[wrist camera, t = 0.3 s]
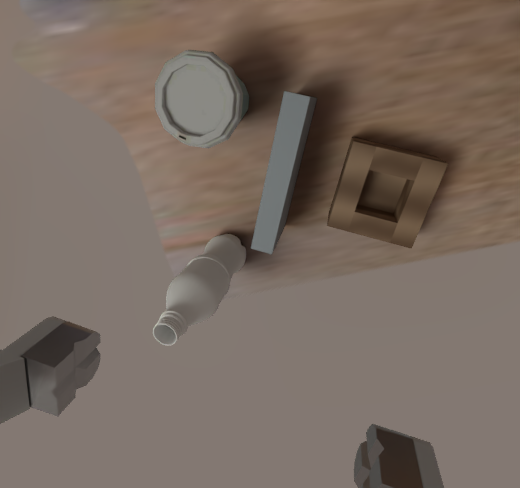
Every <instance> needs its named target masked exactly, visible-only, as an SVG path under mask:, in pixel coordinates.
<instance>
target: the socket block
mask: <svg viewBox="0 0 520 488" xmlns="http://www.w3.org/2000/svg"><path fill="white" fill-rule="evenodd" d="M447 166H448V163H446V162H444V161H443V160H441V159H439V158H437V157H435V156H431V155H426V154H422V153H418V152H414V151H409V150H405V149H401V148H397V147H392V146H388V145H384V144H380V143H376V142H371V141H367V140H363V139H359V138H354V137H352V139H351V142H350V146H349V149H348V152H347V155H346V159H345V162H344V165H343V168H342V172H341V175H340V178H339V182H338V185H337V188H336V191H335V195H334V198H333V201H332V204H331V208H330V211H329V215H328V224H327V226H330V227H333V228H337V229H341V230H345V231H348V232H352V233H356V234H360V235H363V236H367V237H371V238H374V239H378V240H382V241H386V242H389V243H393V244H397V245H400V246H404V247H408V248H412V246H413V244H414V241H415V239H416V237H417V235H418V232H419V230H420V228H421V225H422V223H423V221H424V218H425V216H426V214H427V212H428V209H429V207H430V205H431V202H432V200H433V198H434V195H435V193H436V191H437V189H438V186H439V184H440V182H441V179H442V177H443V175H444V172H445V170H446V168H447Z"/></svg>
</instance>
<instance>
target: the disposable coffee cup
mask: <svg viewBox="0 0 520 488" xmlns="http://www.w3.org/2000/svg"><path fill="white" fill-rule="evenodd" d="M248 106H249V94H248V92H247V89H246V87H245V84H244V83H243V82H242V81H241V80H240V79H239V78H238V77H237V76H236V74H235V73H234V70H233V68H232V67H230V66H229V65H228V64H227V63H225V62H224V61H223V60H222V59H220V58H219V57H218V56H217V55H216V54H214V53H213V52H206V51H196V50H186V51H184V52H182V53H181V54H179V55H177V56H175V57H174V58H172V59H170V60H169V61H167V62H166V63H165V65H164V67H163V69H162V71H161V73H160V75H159V77H158V79H157V81H156V83H155V109H156V112H157V114H158V116H159V118H160V120H161V123H162V125H163V127H164V129H165V130H166V131H167V132H169V133H170V134H171V135H172V136H174V137H175V138H176V139H178V140H179V141H180V142H182V143H184V144H187V145H189V146H196V147H203V148H210V147H212V146H215V145H217V144H219V143H221V142H223V141H225V140H228V139H229V137H230V136H231V134H232V133H233V131H234V130H235V128H236V127H237V125H238V124H239V122H240V121H241V119H242V118H243V116H244V115H245V113H246V112H247V110H248Z"/></svg>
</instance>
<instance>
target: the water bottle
mask: <svg viewBox="0 0 520 488" xmlns="http://www.w3.org/2000/svg"><path fill="white" fill-rule="evenodd" d="M245 260H246V248H245V247H244V246H242V245H241V241H240V239H239V238H238V237H236V236H234V235H232V234H224V235H220V236H215V237H214V238H212V239H211V240H210V241H209V242H208V243H207V245H206V247H205V250H204V253H203V254H202V255H199V256H197V257H195V258H194V259H192V260H191V261H190V262H189V263H188V265H187V266H186V268H185V269H184V270H183V271H182V272H181V273H180V274H179V275H178V276H176V277H175V278H174V279H173V281H172V282H171V283H170V286H169V288H168V291H167V295H166V311H165V312H163V313H162V314H161V316H160V319H159V321H158V323H157V324H156V325H155V327H154V329H153V335H154V337H155V338H156V340H157V341H158V342H159V343H161V344H163V345H172V344H174V343H175V342H176V341H177V340H178V338H179V337H180V336H181V335H183V334H184V333H185V332H186V331H187V328H188V326H191V325H194V324H198V323H201V322H203V321H205V320H207V319H208V318H210V317H211V316H212V315H213V314H214V313H215V312H216V310H217V309H218V306H219V304H220V302H221V300H222V299H223V297H224V295H225V294H226V293H227V292H228V290H229V286H230V281H231V278H232V275H233V274H234V273H236V272H238V271H239V270H240V269H241V268H242V267H243V265H244V263H245Z"/></svg>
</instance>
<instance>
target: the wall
mask: <svg viewBox="0 0 520 488" xmlns="http://www.w3.org/2000/svg"><path fill="white" fill-rule="evenodd" d="M316 101H317V98H315V97H310V96H306V95H301V94H297V93H292V92H286V91H284V95H283V99H282V104H281V109H280V113H279V118H278V123H277V127H276V132H275V137H274V142H273V146H272V151H271V156H270V160H269V165H268V170H267V174H266V179H265V184H264V188H263V193H262V198H261V203H260V207H259V212H258V217H257V221H256V226H255V231H254V235H253V240H252V245H251V249H254V250H258V251H261V252H265V253H268V254H272V253H273V251H274V249H275V246H276V244H277V242H278V240H279V238H280V235H281V233H282V231H283V229H284V227H285V224H286V220H287V216H288V212H289V208H290V204H291V200H292V196H293V192H294V188H295V184H296V180H297V176H298V172H299V168H300V164H301V160H302V156H303V152H304V148H305V144H306V141H307V137H308V133H309V129H310V125H311V121H312V117H313V113H314V109H315V105H316Z"/></svg>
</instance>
